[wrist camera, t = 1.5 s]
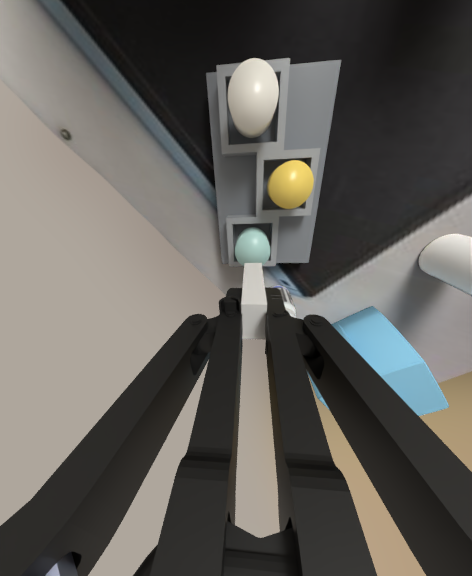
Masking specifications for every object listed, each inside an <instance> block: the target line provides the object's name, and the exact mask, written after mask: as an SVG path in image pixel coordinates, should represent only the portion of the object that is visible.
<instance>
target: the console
mask: <svg viewBox="0 0 472 576" xmlns="http://www.w3.org/2000/svg"><path fill="white" fill-rule="evenodd" d="M264 61H266V62H267V63H268V64H269V65H270V66H271V67H272V69H273V70H274V72H275V74H276V77H277V80H278V87H279V95H278V102H277V106H276V109H275V112H274V115H273V118H272V121H271V123H270V125H269V127H268V129H267V130H266V131H265V132H264V133H263V134H262V135H260V136H258V137H256V138H247V137H245V136H243V135H241V134H240V133H239V132H238V130H237V129H236V127H235V125H234V123H233V119H232V116H231V112H230V109H229V104H228V87H229V83H230V79H231V77H232V75H233V73H234V71H235V70H236V68H237V67H238V66H239V65H240V64H241V63H235V64H225V65H216V67H217V72H211V73H206V79H207V90H208V102H209V114H210V126H211V138H212V150H213V162H214V174H215V186H216V198H217V210H218V222H219V234H220V246H221V258H222V264H229V267H242V265H241V264H240V263H239V262H238V261H237V259H236V256H235V247H236V243H237V239H238V236H239V234H240V233H241V232H242V231H243V230H244V229H246V228H249V227H256V228H259V229H261V230H262V231H263V232H264V233H265V234H266V236H267V239H268V242H269V245H270V256H269V259H268V260H267V262H266V263H265V264H264V265H262V266H276V263H309V257H310V251H311V244H312V238H313V232H314V226H315V220H316V213H317V207H318V201H319V195H320V189H321V182H322V176H323V170H324V164H325V158H326V151H327V145H328V139H329V133H330V127H331V120H332V114H333V108H334V102H335V96H336V89H337V83H338V77H339V71H340V65H341V60H333V61H323V62H312V63H302V64H292V65H290V58H284V59H274V60H264ZM291 160H298V161H302V162H304V163H305V164H307V165H308V166H309V168H310V169H311V171H312V174H313V178H314V184H313V189H312V192H311V194H310V196H309V197H308V199H307V200H306V201H305V202H304V203H303V204H302V205H300V206H298V207H296V208H293V209H285V208H282V207H280V206H278V205H277V204H275V203H274V202H273V201H272V200H271V199H270V197H269V195H268V192H267V183H268V179H269V177H270V175H271V173H272V172H273V171H274V170H275V169H276V168H277V167H279V166H280V165H282V164H284V163H285V162H288V161H291Z"/></svg>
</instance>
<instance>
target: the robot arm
mask: <svg viewBox="0 0 472 576" xmlns="http://www.w3.org/2000/svg"><path fill="white" fill-rule="evenodd" d="M219 310H220V315H219V316H217V317H214V318H211V319H207V317H206V316H205V315H202V314H195V315H192V316H189V317H188V318H187V319H186V320H185V321H184V322H183V323H182V325H181V326H180V327H179V328H178V329H177V330H176V332H175V333H174V334H173V335H172V336H171V337H170V338H169V340H168V341H167V342H166V343H165V344H164V345H163V347H162V348H161V349H160V350H159V351H158V352H157V353H156V355H155V356H154V357H153V358H152V359H151V361H150V362H149V363H148V364H147V365H146V366H145V367H144V369H143V370H142V371H141V372H140V373H139V374H138V376H137V377H136V378H135V379H134V380H133V382H132V383H131V384H130V385H129V386H128V387H127V389H126V390H125V391H124V392H123V393H122V394H121V395H120V397H119V398H118V399H117V400H116V401H115V402H114V404H113V405H112V406H111V407H110V408H109V409H108V411H107V412H106V413H105V414H104V415H103V416H102V418H101V419H100V420H99V421H98V422H97V423H96V425H95V426H94V427H93V428H92V429H91V430H90V432H89V433H88V434H87V435H86V436H85V437H84V439H83V440H82V441H81V442H80V443H79V444H78V446H77V447H76V448H75V449H74V450H73V451H72V453H71V454H70V455H69V456H68V457H67V458H66V460H65V461H64V462H63V463H62V464H61V465H60V467H59V468H58V469H57V470H56V471H55V472H54V474H53V475H52V476H51V477H50V478H49V479H48V481H47V482H46V483H45V484H44V485H43V486H42V488H41V489H40V490H39V491H38V492H37V493H36V494H35V496H34V497H33V498H32V499H31V500H30V501H29V502H28V503H26V504H25V505H24V506H23V507H22V508H21V509H20V510H19V511H17V512H16V513H15V514H14V515H13V516H12V517H10V518H9V519H8V520H7V521H6V522H5V523H3V524H2V525H1V526H0V576H88V574H89V573H90V571H91V570H92V569H93V567H94V566H95V564H96V562H97V561H98V560H99V558H100V556H101V555H102V553H103V552H104V550H105V549H106V547H107V546H108V544H109V543H110V540H111V539H112V537H113V536H114V534H115V532H116V531H117V529H118V527H119V525H120V524H121V522H122V520H123V518H124V516H125V515H126V513H127V511H128V509H129V507H130V505H131V503H132V502H133V500H134V498H135V496H136V494H137V492H138V490H139V488H140V486H141V485H142V482H143V481H144V479H145V477H146V475H147V473H148V472H149V470H150V468H151V466H152V464H153V462H154V460H155V458H156V457H157V455H158V453H159V451H160V449H161V447H162V446H163V443H164V442H165V440H166V438H167V436H168V434H169V432H170V430H171V429H172V427H173V425H174V423H175V421H176V419H177V417H178V416H179V414H180V412H181V410H182V408H183V406H184V404H185V403H186V401H187V399H188V397H189V395H190V393H191V391H192V389H193V388H194V386H195V384H196V382H197V380H198V378H199V376H200V375H201V373H202V371H203V369H204V367H205V365H206V363H207V361H208V360H209V362H208V367H207V370H206V374H205V378H204V383H203V387H202V391H201V395H200V400H199V404H198V408H197V413H196V417H195V421H194V425H193V430H192V434H191V438H190V442H189V446H188V450H187V453H186V455H185V456H184V457H183V458H182V460H181V462H180V464H179V466H178V469H177V473H176V476H175V479H174V483H173V487H172V491H171V495H170V499H169V503H168V507H167V511H166V514H165V518H164V522H163V526H162V530H161V534H160V538H159V542H158V545H157V546H156V547H155V548H154V549H153V550H152V551H151V553H150V554H149V555H148V556H147V557H146V559H145V560H144V561H143V563H142V564H141V565H140V567H139V568H138V570H137V571H136V572H135V574H134V575H133V576H377V574H376V571H375V568H374V565H373V561H372V558H371V555H370V552H369V549H368V546H367V543H366V540H365V537H364V533H363V530H362V527H361V524H360V521H359V518H358V515H357V512H356V509H355V505H354V502H353V499H352V496H351V493H350V490H349V487H348V485H347V482H346V480H345V478H344V476H343V474H342V472H341V471H340V470H339V469H338V468H337V467H336V466H335V464H334V462H333V459H332V456H331V453H330V449H329V446H328V443H327V439H326V436H325V432H324V429H323V425H322V422H321V419H320V416H319V412H318V408H317V405H316V402H315V398H314V395H313V391H312V388H311V385H310V381H309V378H308V375H307V372H308V373H309V375H310V377H311V378H312V380H313V382H314V384H315V385H316V387H317V389H318V391H319V392H320V394H321V396H322V397H323V399H324V401H325V403H326V404H327V406H328V408H329V410H330V411H331V413H332V415H333V416H334V418H335V420H336V422H337V423H338V425H339V426H340V428H341V430H342V432H343V434H344V435H345V437H346V439H347V440H348V442H349V444H350V446H351V447H352V449H353V451H354V453H355V454H356V456H357V458H358V460H359V461H360V463H361V465H362V466H363V468H364V470H365V472H366V473H367V475H368V477H369V479H370V480H371V482H372V484H373V486H374V487H375V489H376V491H377V492H378V494H379V496H380V498H381V499H382V501H383V503H384V505H385V506H386V508H387V510H388V511H389V513H390V515H391V517H392V518H393V520H394V522H395V524H396V525H397V527H398V529H399V530H400V532H401V534H402V536H403V537H404V539H405V541H406V542H407V544H408V546H409V548H410V549H411V551H412V553H413V554H414V556H415V557H416V559H417V561H418V562H419V564H420V566H421V567H422V569H423V571H424V572H425V574H426V576H472V472H471V471H470V470H469V469H468V468H467V467H466V466H465V465H464V464H463V463H462V462H461V461H460V459H459V458H458V457H457V456H456V455H455V454H454V453H453V452H452V451H451V450H450V449H449V448H448V447H447V446H446V445H445V444H444V443H443V442H442V440H441V439H439V437H438V436H437V435H436V434H435V433H434V432H433V431H432V430H431V429H430V428H429V427H428V426H427V425H426V424H425V423H424V422H423V421H422V419H420V417H419V416H418V415H417V414H416V413H415V412H414V411H413V410H412V409H411V408H410V407H409V406H408V405H407V404H406V403H405V402H404V401H403V399H402V398H401V397H400V396H399V395H398V394H397V393H396V392H395V391H394V390H393V389H392V388H391V387H390V386H389V385H388V384H387V383H386V382H385V381H384V379H383V378H382V377H381V376H380V375H379V374H378V373H377V372H376V371H375V370H374V369H373V368H372V367H371V366H370V365H369V364H368V363H367V362H366V361H365V359H364V358H363V357H362V356H361V355H360V354H359V353H358V352H357V351H356V350H355V349H354V348H353V347H352V346H351V345H350V344H349V343H348V342H347V341H346V339H345V338H344V337H343V336H342V335H341V334H340V333H339V332H338V331H337V330H336V329H335V328H334V327H333V326H332V325H331V324H330V323H329V322H328V321H327V320H326V319H325V318H324V317H321V316H319V315H308V316H306V317H305V318H304V320H302V319H297V318H294V317H292V316H290V314H289V312H288V311H287V310H286V309H285V306H284V302H283V299H282V295H281V291H280V290H279V289H278V288H265V285H264V278H263V270H262V263H244V276H243V288H230V289H229V290H228V291H227V294H226V297H224V298H222V299H221V300H220V301H219ZM265 338H266V348H265V354H266V356H267V368H268V379H269V390H270V403H271V413H272V425H273V436H274V448H275V460H276V472H277V482H278V507H279V524H280V532H279V533H276V534H273V535H270V536H267V537H264V538H258V537H255V536H254V535H251V534H250V533H248V532H246V531H244V530H243V529H241V528H239V527H237V526H235V490H236V467H237V466H236V465H237V447H238V426H239V425H238V424H239V406H240V405H239V404H240V385H241V364H242V339H265ZM306 370H307V371H306Z"/></svg>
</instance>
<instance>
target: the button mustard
mask: <svg viewBox="0 0 472 576" xmlns="http://www.w3.org/2000/svg"><path fill="white" fill-rule="evenodd" d="M313 184H314V178H313V174H312V171H311V169H310V168H309V166H308V165H307V164H305V163H304V162H302V161H298V160H291V161H288V162H285V163H284V164H282V165H280V166H279V167H277V168H276V169H275V170H274V171H273V172H272V173H271V175H270V177H269V179H268V183H267V192H268V195H269V197H270V199H271V200H272V201H273V202H274V203H275V204H277V205H278V206H280V207H282V208H285V209H293V208H296V207H298V206H300V205H302V204H303V203H304V202H305V201H306V200H307V199H308V197H309V196H310V194H311V192H312V189H313Z"/></svg>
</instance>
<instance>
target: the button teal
mask: <svg viewBox="0 0 472 576" xmlns="http://www.w3.org/2000/svg"><path fill="white" fill-rule="evenodd" d="M235 256H236V259H237V261H238V262H239V263H240V264H241V265H242V266H244V263H262V265H264V264H265V263H266V262H267V260H268V259H269V256H270V245H269V242H268V239H267V236H266V234H265V233H264V232H263V231H262V230H261V229H259V228H256V227H249V228H246V229H244V230H243V231H242V232H241V233H240V234H239V236H238V239H237V243H236V247H235Z"/></svg>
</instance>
